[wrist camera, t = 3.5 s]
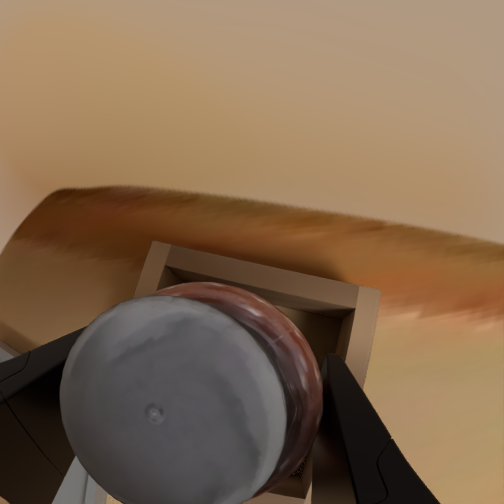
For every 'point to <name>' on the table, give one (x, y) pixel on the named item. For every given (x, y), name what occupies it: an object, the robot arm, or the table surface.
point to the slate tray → (77, 479)
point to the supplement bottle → (191, 397)
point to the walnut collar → (282, 294)
